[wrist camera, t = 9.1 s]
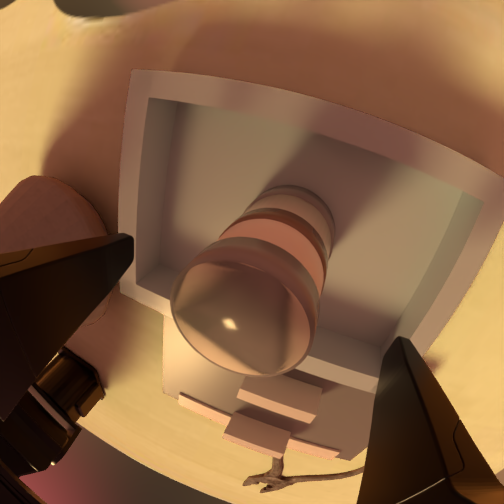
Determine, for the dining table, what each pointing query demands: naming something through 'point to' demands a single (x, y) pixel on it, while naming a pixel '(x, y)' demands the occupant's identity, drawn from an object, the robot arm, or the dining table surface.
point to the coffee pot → (48, 220)
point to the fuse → (258, 285)
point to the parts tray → (322, 184)
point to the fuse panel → (269, 404)
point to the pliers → (281, 482)
